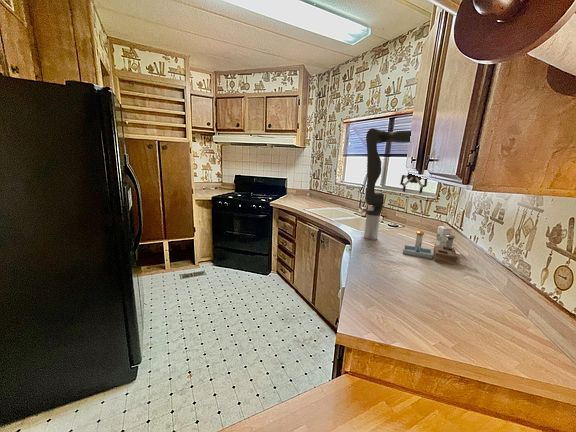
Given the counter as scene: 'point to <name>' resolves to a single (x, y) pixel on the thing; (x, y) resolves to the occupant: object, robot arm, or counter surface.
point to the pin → (449, 242)
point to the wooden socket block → (444, 255)
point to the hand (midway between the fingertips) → (411, 192)
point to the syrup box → (442, 235)
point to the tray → (423, 252)
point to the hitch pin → (418, 241)
